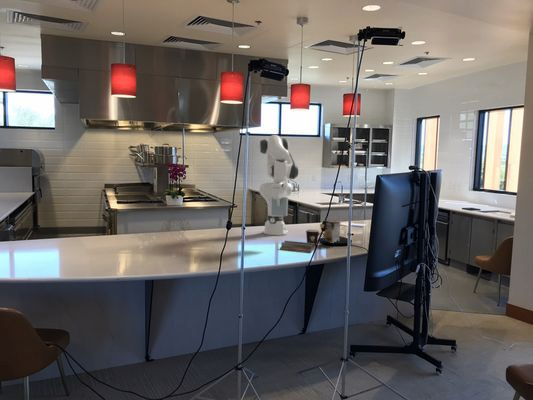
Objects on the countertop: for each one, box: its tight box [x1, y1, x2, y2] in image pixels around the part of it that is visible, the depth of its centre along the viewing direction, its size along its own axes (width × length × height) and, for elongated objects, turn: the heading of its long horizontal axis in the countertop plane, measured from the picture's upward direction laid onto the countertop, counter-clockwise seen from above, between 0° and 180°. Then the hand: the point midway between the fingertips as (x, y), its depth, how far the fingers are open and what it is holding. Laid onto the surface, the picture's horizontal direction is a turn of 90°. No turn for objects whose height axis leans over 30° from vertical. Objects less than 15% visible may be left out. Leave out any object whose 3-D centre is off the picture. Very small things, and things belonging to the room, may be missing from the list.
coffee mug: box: [305, 229, 324, 246], centre depth 307 cm, size 12×9×10 cm
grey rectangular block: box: [272, 196, 289, 217], centre depth 298 cm, size 3×10×12 cm, turn 71°
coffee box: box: [323, 219, 341, 243], centre depth 312 cm, size 9×6×16 cm
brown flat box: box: [279, 240, 316, 254], centre depth 295 cm, size 14×20×4 cm
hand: (279, 205), depth 298 cm, fingers closed on grey rectangular block, 3 cm apart
